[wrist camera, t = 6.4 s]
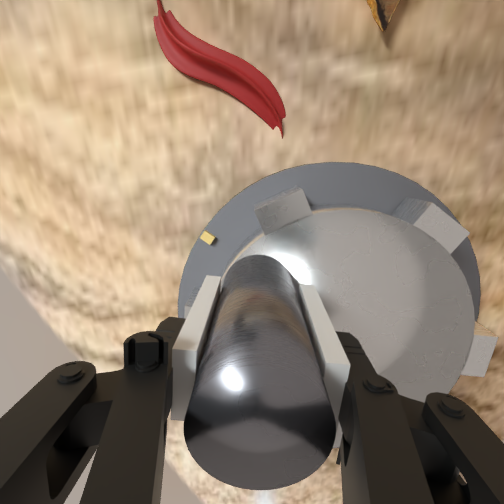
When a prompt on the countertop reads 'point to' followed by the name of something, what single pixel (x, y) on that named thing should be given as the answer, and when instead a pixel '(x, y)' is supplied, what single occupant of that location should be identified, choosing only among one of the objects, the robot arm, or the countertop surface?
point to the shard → (382, 11)
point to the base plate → (317, 193)
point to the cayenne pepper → (218, 68)
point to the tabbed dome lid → (343, 320)
